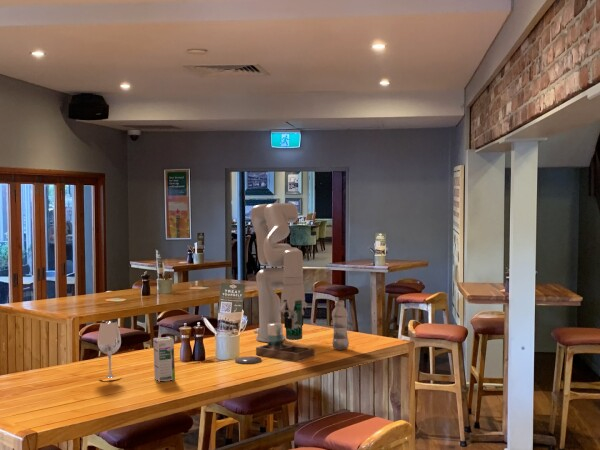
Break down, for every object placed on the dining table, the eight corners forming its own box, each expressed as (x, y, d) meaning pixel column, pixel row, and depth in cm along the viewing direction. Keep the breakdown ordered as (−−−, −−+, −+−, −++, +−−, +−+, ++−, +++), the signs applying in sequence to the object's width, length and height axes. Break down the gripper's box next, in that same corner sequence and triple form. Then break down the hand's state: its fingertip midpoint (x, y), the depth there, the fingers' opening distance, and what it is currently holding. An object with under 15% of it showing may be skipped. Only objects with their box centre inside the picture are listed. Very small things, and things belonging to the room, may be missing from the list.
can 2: (283, 339, 264) (283, 301, 263) (290, 336, 269) (289, 298, 269) (298, 340, 261) (297, 301, 261) (304, 337, 267) (303, 299, 266)
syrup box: (158, 382, 230) (157, 340, 230) (154, 379, 235) (153, 337, 235) (175, 380, 233) (174, 338, 232) (170, 376, 238) (169, 335, 238)
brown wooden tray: (256, 354, 270) (256, 347, 270) (274, 350, 279) (274, 342, 279) (297, 361, 257) (297, 353, 257) (314, 356, 266) (314, 348, 266)
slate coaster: (229, 361, 259) (229, 360, 259) (247, 356, 267) (247, 355, 267) (249, 365, 253) (248, 363, 253) (266, 360, 261) (266, 358, 261)
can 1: (264, 354, 271) (264, 324, 270) (274, 351, 275) (274, 322, 275) (276, 356, 267) (275, 326, 266) (286, 353, 272) (285, 323, 271)
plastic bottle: (349, 351, 274) (348, 301, 273) (332, 351, 274) (331, 302, 273) (348, 347, 280) (347, 299, 279) (332, 348, 280) (331, 299, 280)
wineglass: (126, 376, 239) (124, 320, 239) (113, 382, 232) (111, 324, 231) (107, 375, 242) (105, 319, 241) (94, 381, 234) (92, 323, 234)
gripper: (299, 278, 273) (300, 322, 274) (271, 283, 260) (272, 329, 261) (314, 279, 269) (315, 324, 270) (286, 284, 255) (287, 331, 256)
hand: (293, 326), depth 265 cm, fingers closed on can 2, 6 cm apart
